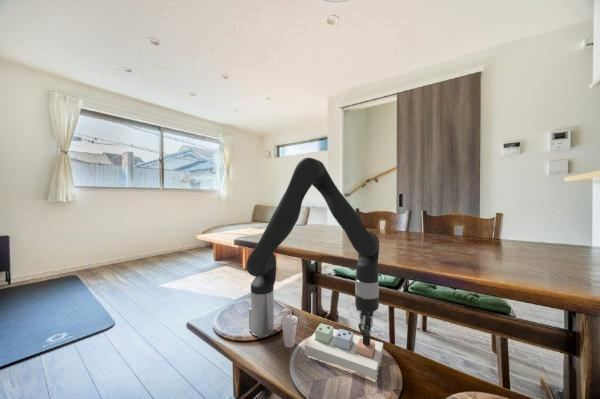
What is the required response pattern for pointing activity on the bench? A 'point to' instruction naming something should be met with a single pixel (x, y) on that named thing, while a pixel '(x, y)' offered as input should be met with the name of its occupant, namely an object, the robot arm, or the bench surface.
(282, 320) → the smoothie
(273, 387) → the bench surface
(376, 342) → the board
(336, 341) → the tile three
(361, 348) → the tile one
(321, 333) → the tile two
